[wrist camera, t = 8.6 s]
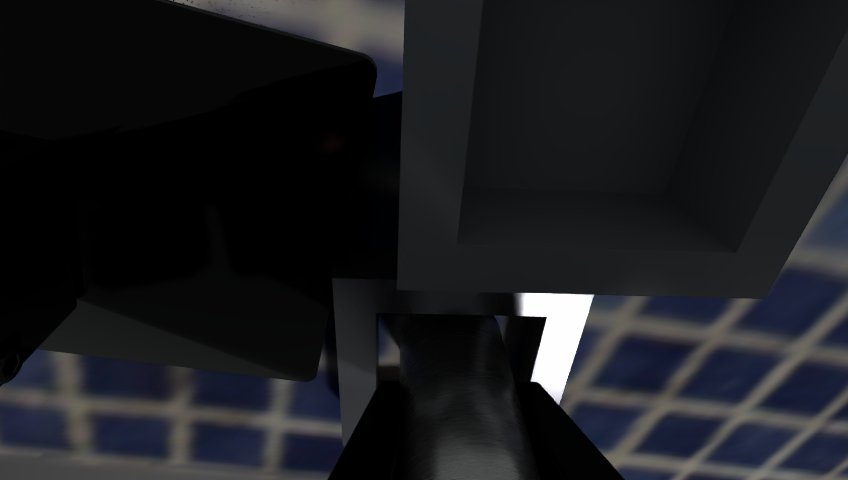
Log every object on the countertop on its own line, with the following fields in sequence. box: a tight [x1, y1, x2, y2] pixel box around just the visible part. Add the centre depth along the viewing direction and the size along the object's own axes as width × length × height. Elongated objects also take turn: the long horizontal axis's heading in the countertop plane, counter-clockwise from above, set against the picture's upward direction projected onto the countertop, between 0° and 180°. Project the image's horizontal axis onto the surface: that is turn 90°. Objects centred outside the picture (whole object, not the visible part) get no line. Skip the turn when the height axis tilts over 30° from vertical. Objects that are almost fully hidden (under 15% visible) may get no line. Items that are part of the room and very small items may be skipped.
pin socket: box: [332, 250, 594, 446], centre depth 10 cm, size 5×5×1 cm
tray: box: [397, 0, 848, 299], centre depth 6 cm, size 6×6×2 cm
